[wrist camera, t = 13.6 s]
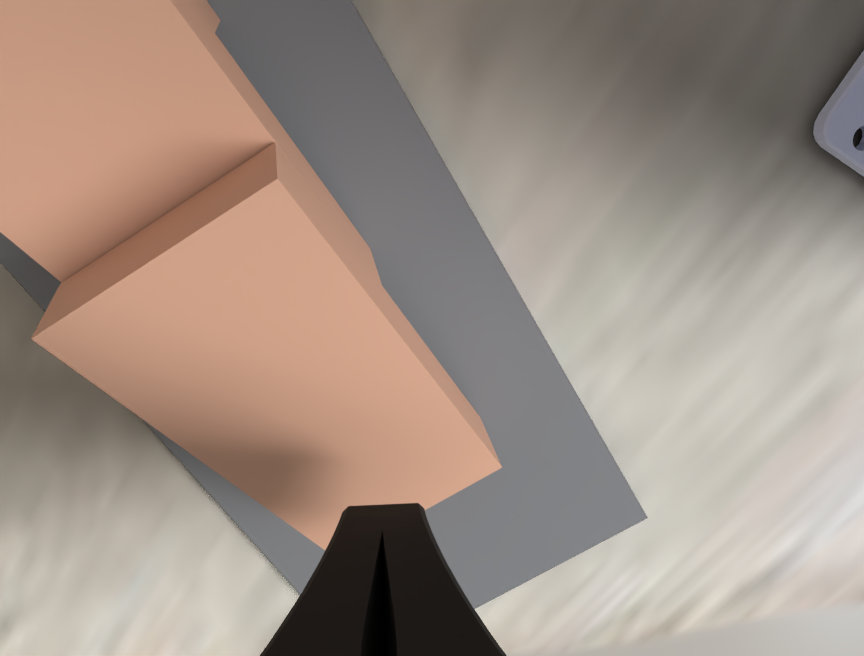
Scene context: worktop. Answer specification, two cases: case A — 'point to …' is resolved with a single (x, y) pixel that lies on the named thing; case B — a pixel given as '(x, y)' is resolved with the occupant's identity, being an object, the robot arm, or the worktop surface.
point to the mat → (418, 307)
